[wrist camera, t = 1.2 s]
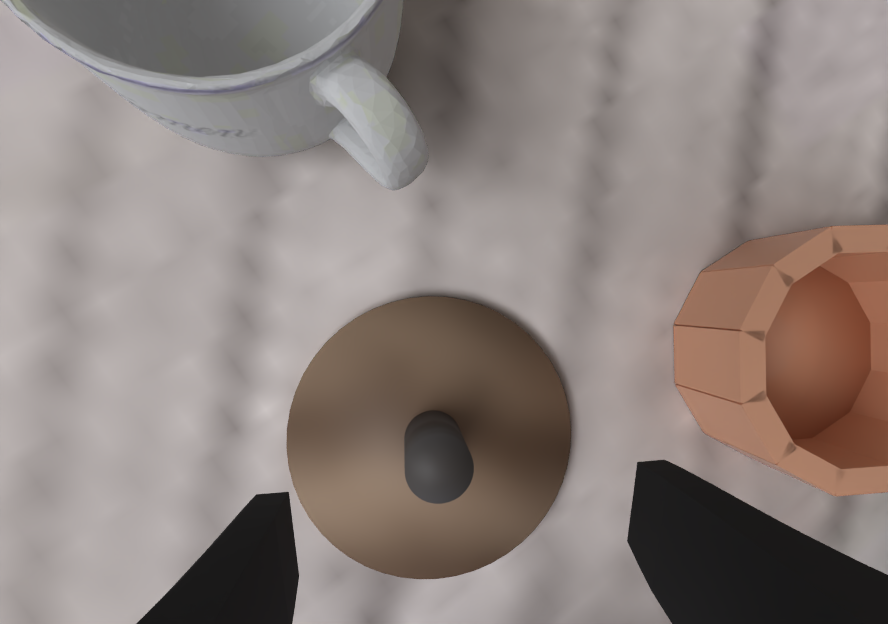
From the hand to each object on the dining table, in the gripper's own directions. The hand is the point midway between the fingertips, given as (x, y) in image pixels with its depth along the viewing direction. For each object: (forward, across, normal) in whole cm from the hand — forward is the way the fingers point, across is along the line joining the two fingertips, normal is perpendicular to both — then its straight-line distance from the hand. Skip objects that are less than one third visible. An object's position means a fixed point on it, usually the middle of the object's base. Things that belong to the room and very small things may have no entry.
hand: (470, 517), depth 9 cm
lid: (+10, 0, +4) cm, 11 cm away
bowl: (+10, -16, +1) cm, 19 cm away
